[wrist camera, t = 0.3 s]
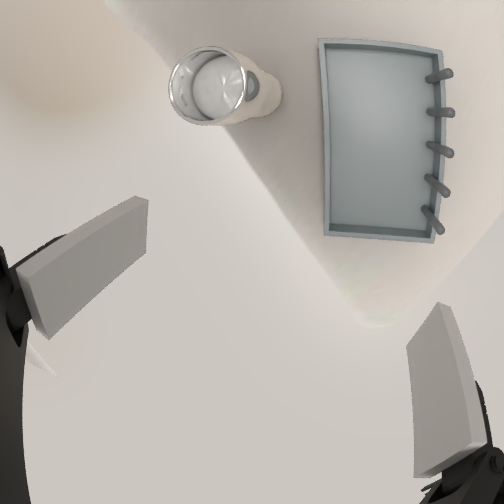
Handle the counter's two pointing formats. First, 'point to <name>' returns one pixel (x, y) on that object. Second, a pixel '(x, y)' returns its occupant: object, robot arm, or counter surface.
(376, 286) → the counter surface
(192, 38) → the counter surface
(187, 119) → the beer glass
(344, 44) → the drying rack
